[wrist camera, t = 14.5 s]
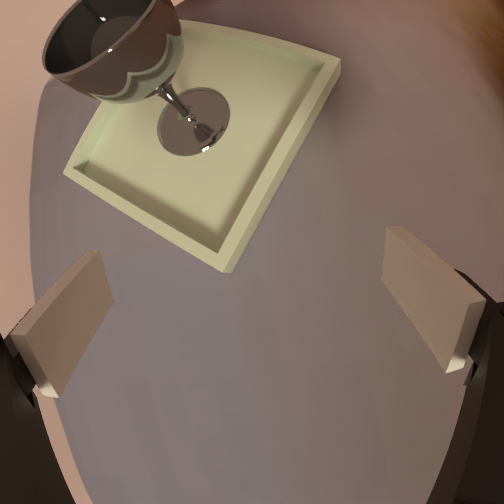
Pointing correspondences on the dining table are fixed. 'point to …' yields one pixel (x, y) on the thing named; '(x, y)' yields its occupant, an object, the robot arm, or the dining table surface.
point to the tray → (220, 154)
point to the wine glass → (135, 67)
